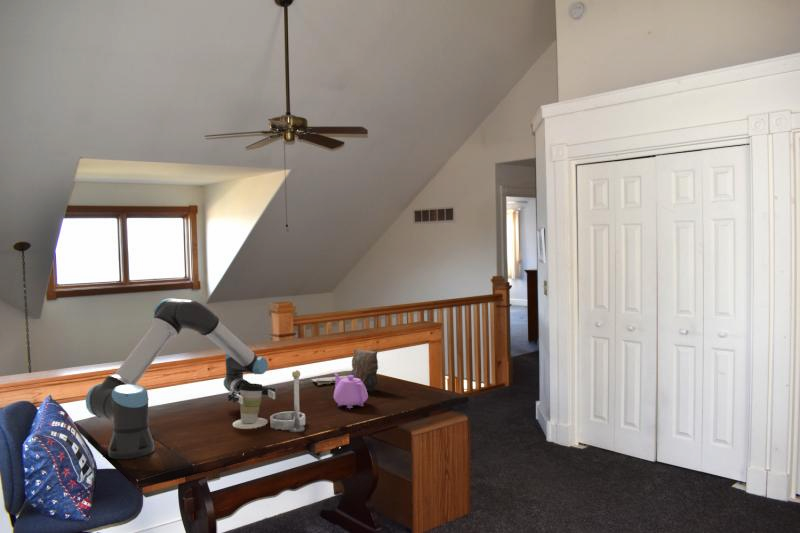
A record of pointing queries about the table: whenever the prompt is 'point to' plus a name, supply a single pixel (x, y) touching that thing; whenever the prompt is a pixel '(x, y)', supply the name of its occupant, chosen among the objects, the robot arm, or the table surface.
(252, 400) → the coffee cup
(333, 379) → the newspaper
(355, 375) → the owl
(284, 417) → the ring stand
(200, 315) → the robot arm
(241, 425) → the cream pad
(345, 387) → the teapot
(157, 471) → the table surface
